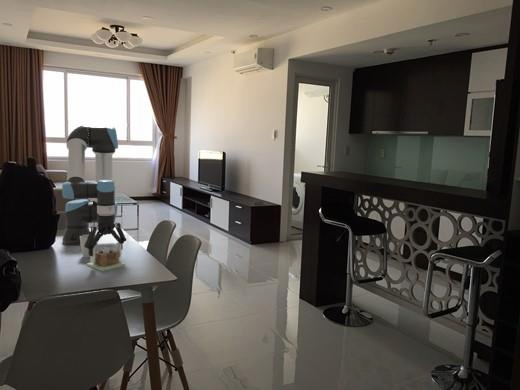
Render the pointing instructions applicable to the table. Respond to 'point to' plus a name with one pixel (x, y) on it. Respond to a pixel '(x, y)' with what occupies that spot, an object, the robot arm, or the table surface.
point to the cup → (84, 250)
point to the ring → (106, 258)
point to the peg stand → (103, 268)
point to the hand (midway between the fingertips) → (106, 259)
